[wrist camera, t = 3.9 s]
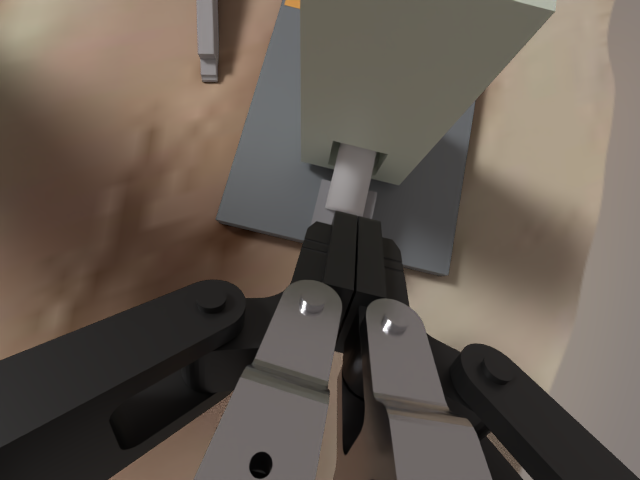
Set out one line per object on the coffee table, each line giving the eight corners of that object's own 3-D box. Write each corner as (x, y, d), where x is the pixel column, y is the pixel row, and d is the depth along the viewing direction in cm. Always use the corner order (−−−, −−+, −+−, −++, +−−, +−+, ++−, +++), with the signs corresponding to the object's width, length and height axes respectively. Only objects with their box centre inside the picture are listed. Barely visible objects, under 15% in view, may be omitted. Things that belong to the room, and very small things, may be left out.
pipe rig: (220, 223, 19) (195, 202, 15) (311, -79, 23) (313, -165, 19) (440, 276, 19) (481, 271, 15) (490, -33, 23) (533, -107, 19)
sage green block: (301, 161, 18) (300, -55, 7) (320, 88, 19) (346, -209, 8) (399, 185, 18) (554, 11, 7) (413, 111, 19) (572, -149, 8)
